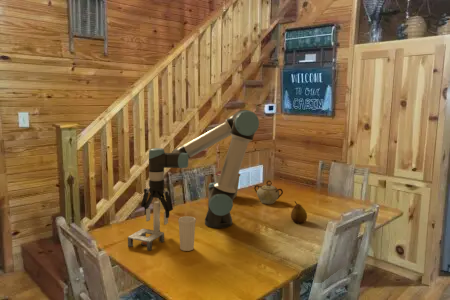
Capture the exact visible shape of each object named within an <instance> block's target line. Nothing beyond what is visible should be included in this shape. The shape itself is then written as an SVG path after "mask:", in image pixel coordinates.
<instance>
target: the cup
mask: <svg viewBox="0 0 450 300" xmlns="http://www.w3.org/2000/svg"><path fill="white" fill-rule="evenodd" d="M196 220H197V219H196V218H195V217H194V216H191V215H189V216H188V215H187V216H186V215H185V216H181V217H179V218H178V228H179V229H178V230H179V234H178V236H179V249H180V250H181V251H183V252H186V251H187V252H188V251H193V250H194V248H195V234H196V233H195V231H196V222H197V221H196Z"/></svg>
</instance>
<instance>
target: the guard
mask: <svg viewBox="0 0 450 300" xmlns="http://www.w3.org/2000/svg"><path fill="white" fill-rule="evenodd" d="M147 234H148V235H149V236H146V235H147ZM158 238H159V243H164V242H165V232H164V231H161V230H160V231H154V229H148V228H141V229H139V230H138V231H136V232H134V233H132V234H131V235H129V236H127V247H129V248H131V247H133V246H134V240H135V241H140V242H141V244H140V245H141V246H143V247H146V251H148V252H151V251H152V250H153V241H154V240H155V241H156V239H158ZM142 241H144V242H147V245H144V244H143V243H142Z"/></svg>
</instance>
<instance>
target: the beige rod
mask: <svg viewBox="0 0 450 300" xmlns="http://www.w3.org/2000/svg"><path fill="white" fill-rule="evenodd" d="M160 203H161V201H153V205H152V208H153V209H152V210H153V212H152V213H153V215H152V216H153V218H152V219H153V224H152V225H153V230H154V231H160V232H161V219H160V218H161V204H160Z"/></svg>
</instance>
